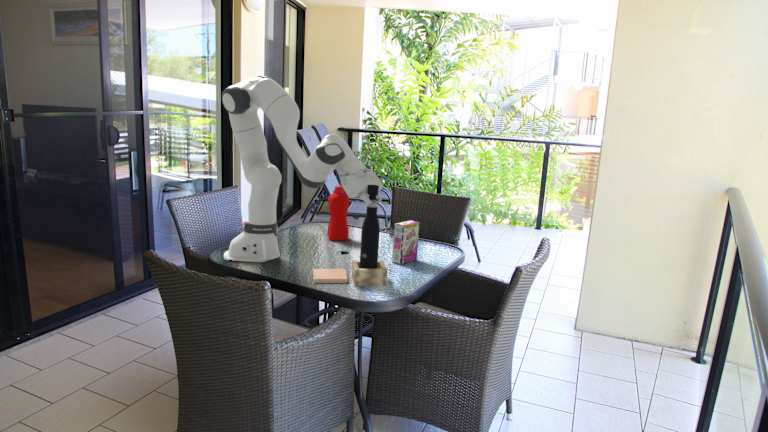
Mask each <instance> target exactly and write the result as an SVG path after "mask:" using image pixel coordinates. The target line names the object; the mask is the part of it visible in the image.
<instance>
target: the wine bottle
mask: <svg viewBox="0 0 768 432" xmlns="http://www.w3.org/2000/svg"><path fill="white" fill-rule="evenodd" d="M378 192H380V191H379V186H378V185H368V192H367V195H368V198H371V200H372V201H373V202H372V203H371V204H370V205H367V206H366V211H365V212H366V214H365V217H364V219H363V222H362V226H361V235H360V236H361V237H360V255H359V261H360V268H362V269H377V263H378V261H379V259H378V258H379V247H380V246H379V245H380V229H381V227H380V221H379V217H378V205H377V204H378V203H377V202H376V195H378Z"/></svg>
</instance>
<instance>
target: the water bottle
mask: <svg viewBox="0 0 768 432" xmlns="http://www.w3.org/2000/svg"><path fill="white" fill-rule="evenodd" d="M325 205H328V210H329V211H328V213H327V214H329V217H330V218H329V221H328V222H329V223H328V226H327V238H328V239H329V240H330V241H334V242H335V241H336V242H337V241H339V242H340V241H341V242H342V241H347V240H348V238H349V233H350V232H349V227H348V226H349V224H348V220H347V215H348V211H349V207H350V197H349V196H348V195H347V193H346V192H345V190H344V189H343V187H342V185H336V186H334V190H333V192H332V193H331V194H330V195H329V197H328V199H327V200H326V204H325ZM324 208H325V209H324V210H326V209H327V207H326V206H325V207H324Z"/></svg>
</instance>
